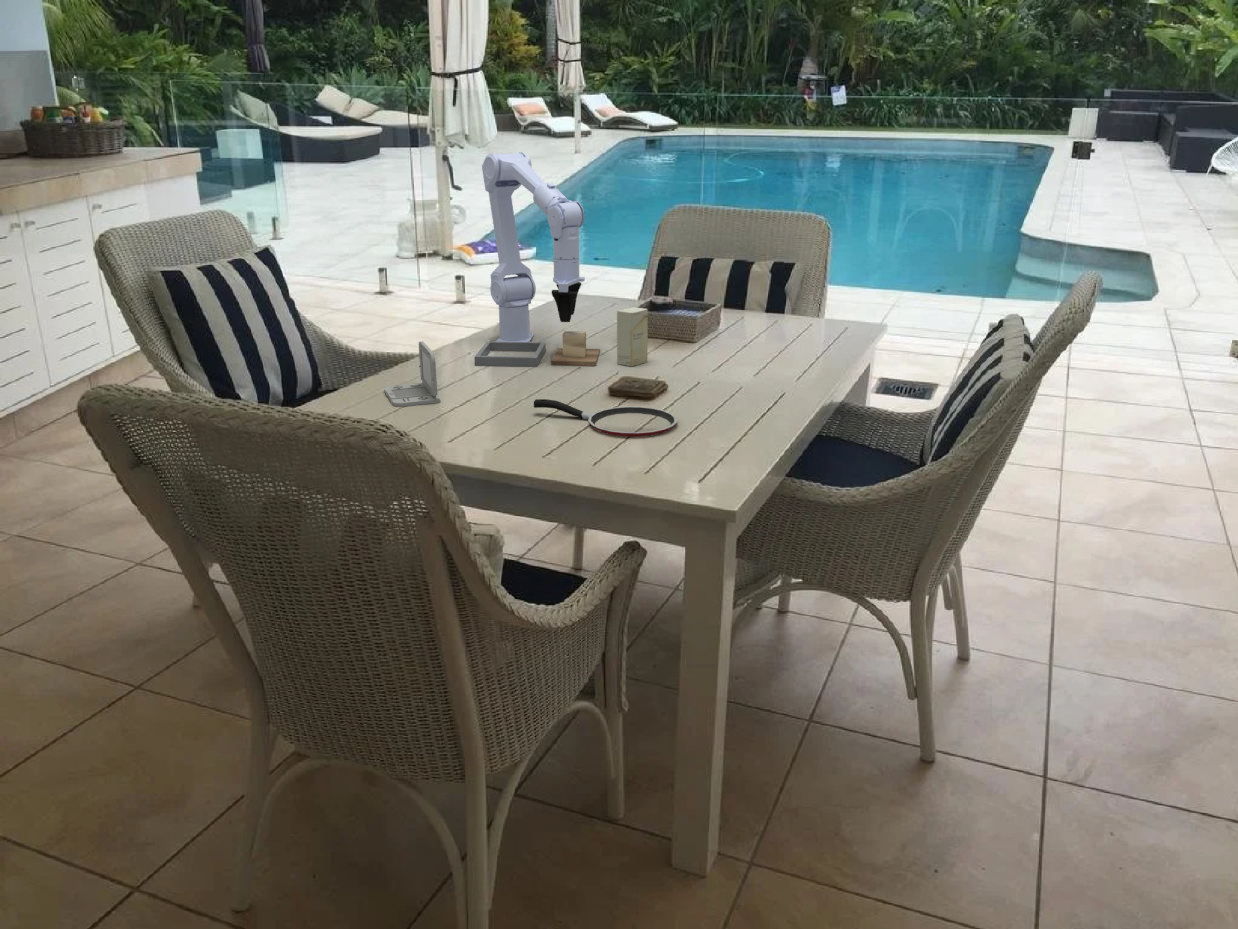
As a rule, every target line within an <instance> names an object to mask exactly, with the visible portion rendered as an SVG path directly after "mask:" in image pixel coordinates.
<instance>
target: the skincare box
mask: <svg viewBox="0 0 1238 929" xmlns="http://www.w3.org/2000/svg"><path fill="white" fill-rule="evenodd" d="M648 311H649V310H648V308H644V307H642V308H641V307H635V306H631V307H628V308H623V309H620V310H619V309H618V310H616V363H617V365H623V366H628V367H634V366H638V365H641V364H646V363H647V362H648V343H649V341H648V336H649V334H648V333H649V332H648V331H649V330H648V329H649V328H648V325H649V323H648V322H649V321H648V320H649V319H648V318H649V316H648V315H649V313H648Z"/></svg>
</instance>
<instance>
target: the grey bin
mask: <svg viewBox="0 0 1238 929" xmlns="http://www.w3.org/2000/svg"><path fill="white" fill-rule="evenodd" d="M483 344H484V345H483V346H482V347H481V348H480V349H479V350H478V351H477V353H476V354H475V355H474V358H473V359H474V366H479V367H482V366H483V367H491V366H492V367H525V368H526V367H529V368H530V367H532V368H533V367H535V368H536V367H538V366H539V365H540V362H541V361H542V359H543V356H544V355H545V352H546V350H547V347H546V346H547V344H546V342H545V341H544V342H542V341H541V342H540V341H530V342H498V341H497V340H495V341H493V340H492V341H488V340H487V341H485V343H483ZM492 351H494V352H495V351H496V352H497V351H498V352H534V354H533V355H532V356H516V355H515V356H514V355H513V356H511V355H510V356H509V355H505V356H504V355H503V356H502V355H488V354H489V353H490V352H492Z"/></svg>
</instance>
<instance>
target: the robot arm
mask: <svg viewBox="0 0 1238 929" xmlns="http://www.w3.org/2000/svg"><path fill="white" fill-rule="evenodd" d="M532 166H533V165H532V159H531V158H530V157H529V156H528V155H527V154H526V153H525V152H524V151H523V152H522V151H521V152H514V153H512V152H511V153H509V152H508V153H488V154H487V155H486V156H485V158H484V161H483V163H482V165H481V168H482V169H481V170H482V176H483V183H484V188H485V189H484V190H485V191H486V192H488V198H489V204H490V205H489V206H490V210H491V216H492V224H493V230H494V231H493V232H494V236H495V244H496V251H497V257H498V266H497V267H496V268H495V269H494V270H493V271H492V272H491V274H490V288H489V289H490V290H489V291H490V296H491V299H492V300H493V301H494V303H495V305H497V306H498V319H499V322H498V323H499V324H498V326H499V336H498V338H497V339H496V341H498V342H531V340H532V338H533V337H534V335H535V334H534V332H530V330H531V329H530V328H531V324H530V322H531V321H530V310H529V309H530V308H529V306H530V304H532V300H533V299H534V298H535V296H536V292H537V291H536V290H537V288H536V283H535V280H534V279H533V275H532V270H531V268H529V267H528V266H527V265H525V264H524V263H523V262H522V260H521V259H522V258H521V254H520V248H519V241H518V240H519V239H518V233H517V226H516V221H515V213H514V207H513V198H512V196H513V194H514V192H515V191H517V190H519V188H520V187H521V186H523V187H524V188H525V189H526V190H527V191H529V192H530V193H531V194H532V195H533V196H532V198H533V203H534V204H535V205H536V206H537V207H538V208H539V209H540V210H541V211H542V212H543V213H544V214H545V215H546V218H547V219H546V220H547V223H548V225H549V228H550V235H551V238H553V239H552V243H553V244H552V245H553V249H552V250H553V252H552V253H553V277H552V281H553V282H554V283H555V284H556V287H557V289H552V290H551V296H552V297H553V299H554V302H555V304H556V307H557V313H558V316H559V320H560V321H559V322H561V323H570V322H571V319H572V316H574V313H575V311H576V302H577V298H578V294H579V290H580V288H581V286H582V282H585V279H586V278H585V277H584V276H580V228H581V227H583V225H584V222H585V211H584V207H583V205H581V203H580V201H577V200H569V199H568V198H567V197H566V196H565V195H564V194H563V193H562V192H561V191H560V190H559V188H557V187H556V185H555V183H553V182H551V183H550V182H544V181H543V180H542V178H541V177H540V176H539V175H538V173H537V172H536V171H535V170H534V169H533V167H532ZM514 275H515V276H514ZM507 276H508V277H507Z"/></svg>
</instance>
